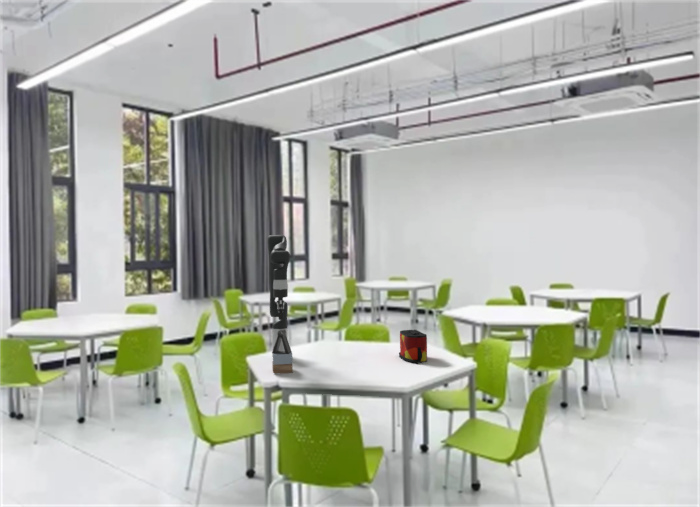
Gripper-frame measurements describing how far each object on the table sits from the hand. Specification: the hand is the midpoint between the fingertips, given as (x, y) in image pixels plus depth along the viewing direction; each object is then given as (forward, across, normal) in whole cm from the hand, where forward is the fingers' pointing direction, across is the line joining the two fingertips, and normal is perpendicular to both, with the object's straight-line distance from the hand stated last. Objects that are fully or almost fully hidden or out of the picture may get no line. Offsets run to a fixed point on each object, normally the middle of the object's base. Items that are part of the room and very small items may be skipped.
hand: (280, 318), depth 277 cm
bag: (+28, -19, +77) cm, 84 cm away
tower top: (+23, 0, +1) cm, 23 cm away
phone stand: (+18, 0, 0) cm, 18 cm away
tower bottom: (+28, 0, +1) cm, 28 cm away
